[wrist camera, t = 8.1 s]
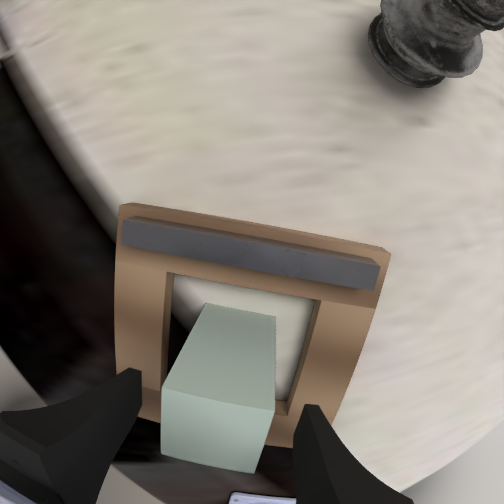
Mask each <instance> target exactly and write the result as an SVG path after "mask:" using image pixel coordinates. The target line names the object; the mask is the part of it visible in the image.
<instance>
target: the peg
mask: <svg viewBox="0 0 504 504" xmlns="http://www.w3.org/2000/svg"><path fill="white" fill-rule="evenodd" d="M275 373H276V316H270V315H265V314H260V313H254V312H249V311H244V310H239V309H234V308H229V307H224V306H219V305H214V304H209V303H206V304H205V306H204V308H203V310H202V312H201V314H200V316H199V317H198V319H197V321H196V323H195V325H194V327H193V329H192V331H191V333H190V334H189V336H188V338H187V340H186V342H185V344H184V346H183V348H182V350H181V352H180V353H179V355H178V357H177V359H176V361H175V363H174V365H173V367H172V369H171V371H170V373H169V374H168V376H167V378H166V380H165V382H164V384H163V386H162V397H161V454H164V455H167V456H171V457H175V458H178V459H182V460H186V461H190V462H195V463H199V464H204V465H208V466H213V467H218V468H223V469H229V470H234V471H240V472H247V473H254V472H255V469H256V466H257V463H258V461H259V458H260V455H261V452H262V449H263V446H264V443H265V440H266V437H267V434H268V431H269V428H270V425H271V422H272V419H273V415H274V412H275Z"/></svg>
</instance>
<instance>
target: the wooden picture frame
mask: <svg viewBox="0 0 504 504" xmlns="http://www.w3.org/2000/svg"><path fill="white" fill-rule="evenodd" d="M132 216H142V217H148V218H154V219H160V220H165V221H171V222H177V223H183V224H189V225H195V226H200V227H206V228H212V229H217V230H223V231H229V232H234V233H240V234H245V235H251V236H257V237H262V238H267V239H273V240H278V241H284V242H289V243H295V244H300V245H305V246H311V247H316V248H321V249H327V250H332V251H337V252H342V253H347V254H353V255H358V256H363V257H368V258H372V259H373V260H374V261H375V262H376V263H377V264H379V265H380V266H381V267H380V271H379V275H378V278H377V282H376V286H375V289H374V291H370V290H364V289H358V288H352V287H347V286H341V285H335V284H329V283H323V282H318V281H312V280H306V279H301V278H295V277H289V276H284V275H278V274H273V273H267V272H262V271H256V270H251V269H245V268H240V267H234V266H229V265H224V264H218V263H213V262H208V261H203V260H197V259H192V258H187V257H182V256H177V255H171V254H166V253H161V252H156V251H151V250H146V249H141V248H136V247H131V246H126V245H121V234H122V222H123V219H126V218H129V217H132ZM390 256H391V254H390V253H389V252H388V251H386V250H385V249H383V248H382V247H377V246H372V245H367V244H362V243H357V242H353V241H348V240H343V239H338V238H332V237H327V236H322V235H317V234H312V233H307V232H301V231H296V230H291V229H285V228H280V227H275V226H269V225H264V224H258V223H253V222H247V221H241V220H236V219H230V218H224V217H218V216H212V215H206V214H201V213H195V212H188V211H182V210H176V209H170V208H164V207H157V206H151V205H145V204H138V203H127V204H122V205H120V206H119V217H118V229H117V243H116V262H115V304H114V312H115V353H116V371H117V374H119V373H121V372H122V371H124V370H126V369H127V368H129V367H130V368H133V369H137V370H140V371H142V406H141V409H140V411H139V414H138V417H142V418H145V419H148V420H152V421H155V422H158V423H161V397H162V386H163V384H164V382H165V380H166V378H167V364H168V345H169V329H170V315H171V303H172V291H173V280H174V273H176V274H181V275H186V276H191V277H196V278H201V279H206V280H211V281H216V282H221V283H227V284H232V285H237V286H243V287H248V288H253V289H259V290H264V291H270V292H275V293H281V294H287V295H293V296H298V297H304V298H310V299H316V301H315V305H314V308H313V312H312V316H311V320H310V324H309V327H308V331H307V335H306V338H305V342H304V346H303V349H302V353H301V356H300V360H299V363H298V367H297V370H296V373H295V377H294V380H293V383H292V387H291V390H290V393H289V396H288V399H287V402H286V401H279V400H275V412H274V415H273V419H272V422H271V425H270V428H269V431H268V434H267V437H266V440H265V443H264V444H265V445H272V446H281V447H290V448H293V434H294V432H295V429H296V426H297V424H298V421H299V418H300V416H301V413H302V410H303V407H304V405H305V404H314V405H319V406H320V408H321V410H322V411H323V413H324V415H325V417H326V418H327V420H328V422H329V423H330V425H332V423H333V420H334V418H335V416H336V414H337V411H338V409H339V407H340V404H341V402H342V400H343V397H344V395H345V392H346V390H347V387H348V385H349V382H350V380H351V377H352V375H353V372H354V370H355V367H356V364H357V362H358V359H359V356H360V354H361V351H362V348H363V345H364V342H365V339H366V337H367V334H368V331H369V328H370V325H371V322H372V319H373V315H374V312H375V309H376V306H377V303H378V299H379V296H380V293H381V289H382V286H383V282H384V279H385V275H386V272H387V268H388V264H389V260H390Z"/></svg>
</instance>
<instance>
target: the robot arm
mask: <svg viewBox="0 0 504 504" xmlns="http://www.w3.org/2000/svg"><path fill="white" fill-rule="evenodd" d="M141 406H142V371H140V370H137V369H133V368H130V367H129V368H127V369H126V370H124V371H122V372H121V373H119V374H117V375H116V376H114V377H113V378H111V379H109V380H108V381H106V382H104V383H103V384H101V385H99V386H97V387H96V388H94V389H92V390H90V391H88V392H86V393H84V394H82V395H80V396H77V397H75V398H73V399H70V400H67V401H64V402H61V403H58V404H54V405H50V406H47V407H42V408H37V409H31V410H22V411H2V412H1V413H0V504H96V501H97V498H98V495H99V492H100V489H101V487H102V484H103V481H104V479H105V476H106V474H107V471H108V469H109V467H110V465H111V462H112V460H113V458H114V456H115V455H116V453H117V451H118V450H119V448H120V446H121V445H122V443H123V441H124V440H125V438H126V436H127V435H128V433H129V431H130V430H131V428H132V426H133V424H134V423H135V421H136V418H137V416H138V414H139V411H140V409H141ZM293 466H294V477H295V488H296V498H281V497H270V496H261V495H253V494H245V493H238V492H234V493H232V494H231V498H230V501H229V504H414V503H413V500H412V499H410V498H408V497H406V496H404V495H403V494H401V493H399V492H397V491H395V490H393V489H392V488H390V487H389V486H387V485H386V484H384V483H383V482H382V481H380V480H379V479H377V478H376V477H375V476H374V475H373V474H371V473H370V472H369V471H368V470H367V469H366V468H365V467H363V466H362V465H361V464H360V463H359V461H358V460H357V459H356V458H355V457H354V456H353V455H352V454H351V453H350V452H349V450H348V449H347V448H346V447H345V445H344V444H343V443H342V441H341V440H340V438H339V437H338V435H337V434H336V433H335V431H334V430H333V428H332V426H331V425H330V423H329V422H328V420H327V418H326V417H325V415H324V413H323V411H322V410H321V408H320V406H319V405H314V404H305V405H304V407H303V410H302V413H301V416H300V418H299V421H298V424H297V426H296V429H295V432H294V434H293Z"/></svg>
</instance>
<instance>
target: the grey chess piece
mask: <svg viewBox="0 0 504 504" xmlns="http://www.w3.org/2000/svg"><path fill="white" fill-rule="evenodd" d="M380 6H381V13H380V14H379V15H378V16H376V17H375V18H374V20H373V21H372V23H371V24H370V28H369V33H368V37H369V45H370V47H371V50H372V53H373V55H374V56H375V58H376V59H377V61H378V63H379V64H380V65H381V66H382V67H383V68H384V69H385V70H386V71H387V73H388V74H390V75H391V76H393V77H394V78H395V79H397V80H398V81H400V82H402V83H405V84H407V85H409V86H414V87H418V88H425V87H431V86H434V85H436V84H439V83H440V82H441V81H442V80H443V79H444V78H445V77H449V78H462V77H464V76H467V75H469V74H472V73H473V72H474V71H475V70H476V69H477V68H478V67H479V64H480V62H481V59H482V53H483V45H482V40H481V35H480V33H481V32H483V31H484V30H491V31H498V30H501V29H503V28H504V0H381V5H380Z"/></svg>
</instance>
